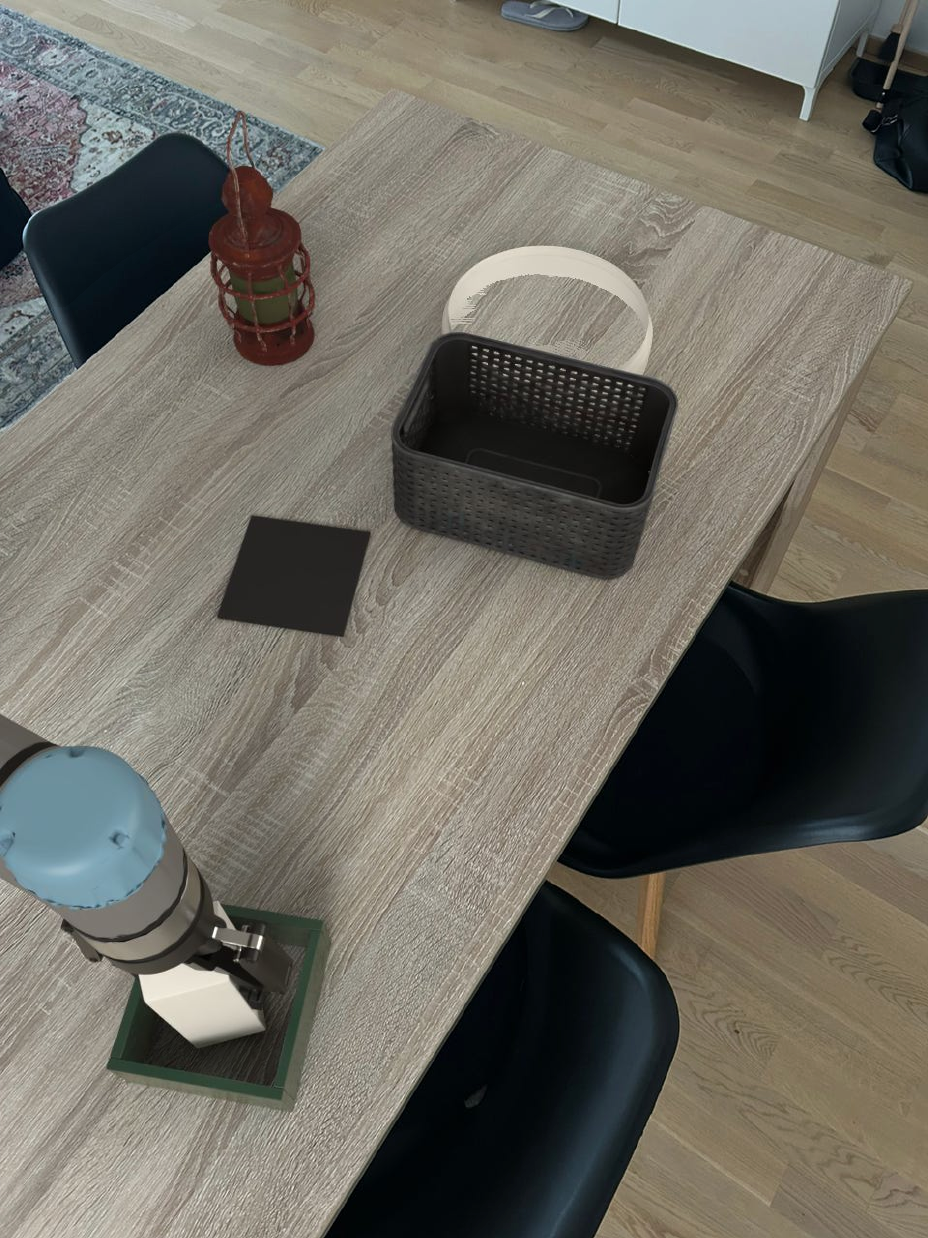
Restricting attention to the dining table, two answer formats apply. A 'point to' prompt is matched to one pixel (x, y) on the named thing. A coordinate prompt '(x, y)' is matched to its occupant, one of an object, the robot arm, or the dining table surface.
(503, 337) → the dining table surface
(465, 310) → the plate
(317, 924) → the holder
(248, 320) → the lantern
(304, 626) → the mat
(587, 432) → the storage bin
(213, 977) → the milk
